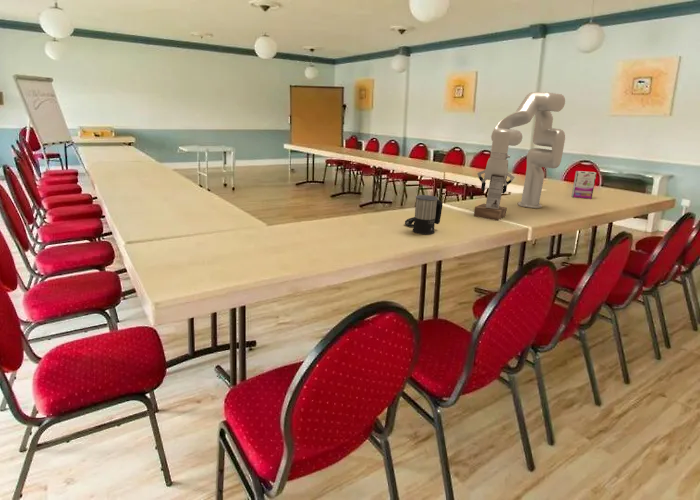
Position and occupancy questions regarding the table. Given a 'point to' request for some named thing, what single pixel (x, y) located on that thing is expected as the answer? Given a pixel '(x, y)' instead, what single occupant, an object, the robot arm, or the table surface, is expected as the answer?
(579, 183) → the candy bar box
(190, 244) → the table surface
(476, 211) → the walnut block
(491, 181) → the coffee box
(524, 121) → the robot arm
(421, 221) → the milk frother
